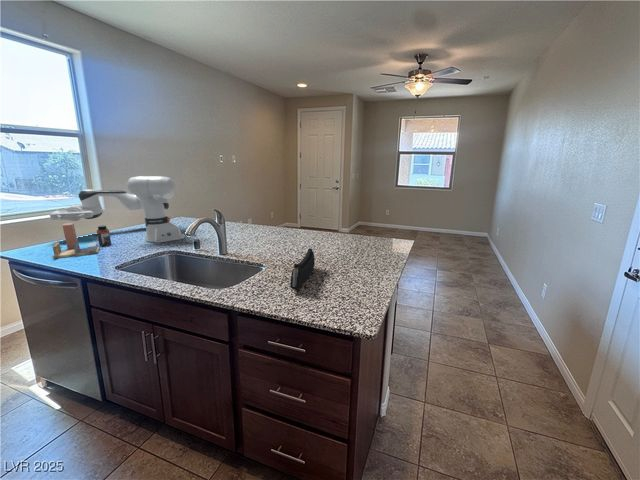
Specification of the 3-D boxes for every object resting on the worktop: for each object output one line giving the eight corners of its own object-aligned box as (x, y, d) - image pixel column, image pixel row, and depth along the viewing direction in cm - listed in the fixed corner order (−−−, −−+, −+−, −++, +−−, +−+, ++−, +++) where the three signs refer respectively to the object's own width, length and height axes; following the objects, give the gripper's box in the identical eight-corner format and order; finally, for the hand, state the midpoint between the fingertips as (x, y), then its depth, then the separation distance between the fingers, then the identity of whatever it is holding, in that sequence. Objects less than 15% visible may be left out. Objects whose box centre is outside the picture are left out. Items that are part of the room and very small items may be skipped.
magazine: (309, 248, 150) (292, 247, 120) (315, 248, 149) (300, 248, 120) (306, 283, 149) (289, 291, 120) (313, 284, 149) (297, 292, 119)
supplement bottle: (97, 244, 183) (94, 225, 180) (109, 242, 187) (106, 224, 184) (100, 246, 179) (97, 227, 176) (112, 244, 183) (109, 225, 180)
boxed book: (78, 246, 178) (73, 222, 175) (76, 249, 173) (71, 224, 170) (69, 247, 176) (64, 223, 173) (67, 250, 171) (62, 225, 168)
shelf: (99, 248, 175) (97, 238, 173) (97, 253, 166) (95, 242, 165) (57, 253, 166) (55, 242, 164) (53, 258, 158) (50, 246, 156)
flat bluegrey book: (98, 247, 174) (97, 242, 173) (96, 251, 167) (95, 246, 166) (90, 247, 172) (89, 243, 171) (88, 252, 165) (87, 246, 164)
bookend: (89, 248, 171) (87, 239, 169) (87, 252, 164) (85, 243, 163) (77, 249, 168) (75, 240, 167) (75, 253, 162) (73, 244, 160)
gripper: (95, 217, 198) (92, 221, 187) (54, 219, 189) (49, 224, 177) (93, 207, 197) (90, 210, 185) (52, 209, 187) (46, 213, 175)
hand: (70, 217), depth 181 cm, fingers open, 8 cm apart
